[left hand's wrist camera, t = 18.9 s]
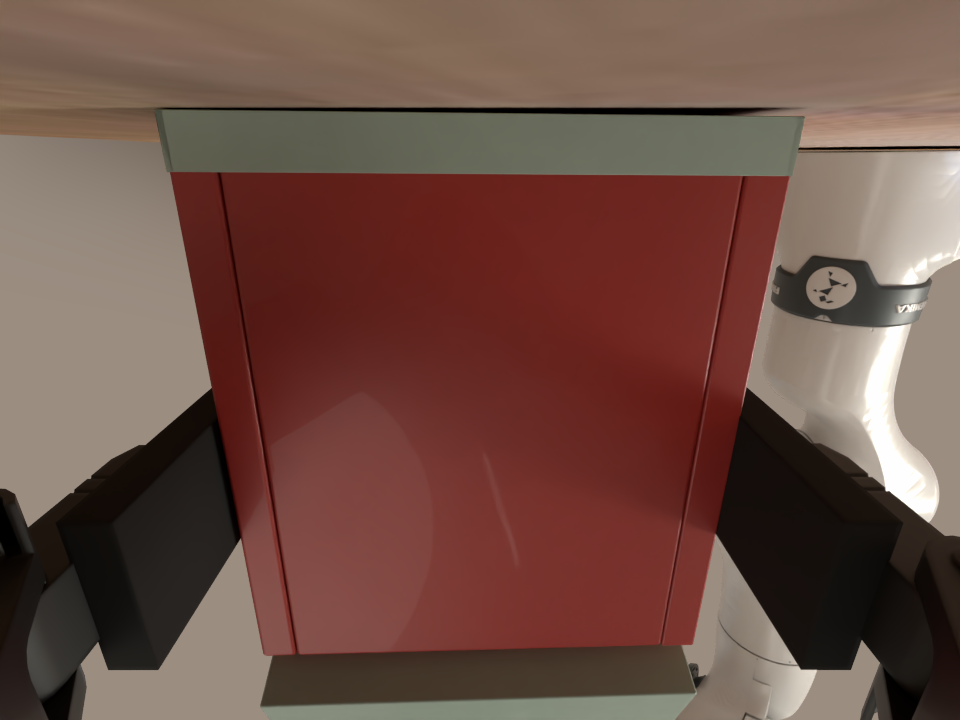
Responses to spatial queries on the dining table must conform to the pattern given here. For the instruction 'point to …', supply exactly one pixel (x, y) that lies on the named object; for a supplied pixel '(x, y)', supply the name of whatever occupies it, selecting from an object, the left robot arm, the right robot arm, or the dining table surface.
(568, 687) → the lid
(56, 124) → the dining table surface
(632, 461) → the chest
